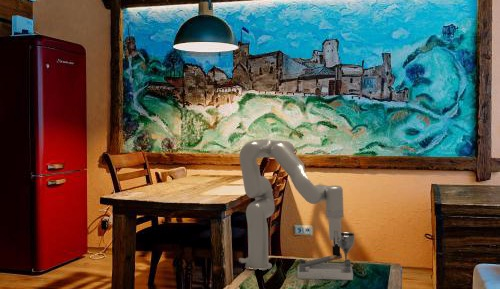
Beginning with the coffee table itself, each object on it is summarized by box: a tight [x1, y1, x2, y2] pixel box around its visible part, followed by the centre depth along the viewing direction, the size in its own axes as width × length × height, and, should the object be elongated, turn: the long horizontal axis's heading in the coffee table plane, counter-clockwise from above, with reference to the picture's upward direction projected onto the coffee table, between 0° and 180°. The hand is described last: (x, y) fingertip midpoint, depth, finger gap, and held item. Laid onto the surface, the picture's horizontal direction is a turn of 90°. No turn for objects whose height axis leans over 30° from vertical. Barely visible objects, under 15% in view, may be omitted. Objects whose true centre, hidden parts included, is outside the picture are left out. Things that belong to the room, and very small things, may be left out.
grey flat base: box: [297, 258, 354, 281], centre depth 244 cm, size 24×10×7 cm, turn 83°
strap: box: [302, 252, 343, 267], centre depth 244 cm, size 18×5×1 cm, turn 82°
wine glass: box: [339, 231, 355, 268], centre depth 260 cm, size 8×8×15 cm
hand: (336, 254), depth 243 cm, fingers closed
